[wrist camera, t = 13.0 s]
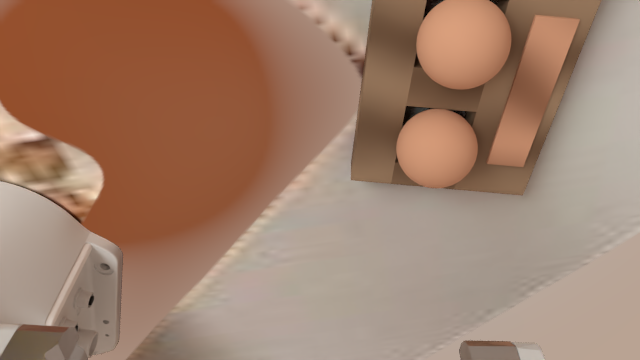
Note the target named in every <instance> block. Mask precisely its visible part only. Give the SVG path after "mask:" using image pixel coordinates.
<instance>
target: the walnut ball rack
mask: <svg viewBox="0 0 640 360" xmlns="http://www.w3.org/2000/svg"><path fill="white" fill-rule="evenodd" d="M426 1H427V0H372V7H371V14H370V22H369V30H368V38H367V45H366V53H365V61H364V68H363V76H362V84H361V91H360V99H359V107H358V114H357V122H356V130H355V137H354V145H353V153H352V160H351V180H356V181H367V182H379V183H390V184H401V185H412V186H422V185H419V184H417V183H416V182H414V181H413V180H411V179H410V178H409V177H408V176H407V175H406V174H405V173H404V171H403V170H402V168H401V166H400V164H399V162H398V158H397V153H396V145H397V140H398V136H399V134H400V131H401V130H402V124H403V119H404V114H405V109H406V106H414V107H426V108H437V109H449V110H460V111H467V113H466V116H465V120H466V121H467V122H468V123H469V124H470V125H471V127H472V128H473V130H474V133H475V135H476V138H477V144H478V152H477V157H476V161H475V163H474V166H473V167H472V169H471V171H470V172H469V173H468V174H467V175H466V176H465V177H464V178H463V179H462V180H461V181H459V182H458V183H456V184H454V185H451V186H448V187H444V188H446V189H458V190H469V191H480V192H492V193H503V194H514V195H523V193H524V191H525V189H526V186H527V184H528V181H529V179H530V176H531V174H532V171H533V169H534V166H535V164H536V161H537V159H538V156H539V154H540V151H541V149H542V146H543V144H544V141H545V139H546V136H547V134H548V131H549V129H550V126H551V124H552V121H553V119H554V116H555V114H556V112H557V109H558V107H559V104H560V102H561V99H562V97H563V94H564V92H565V89H566V87H567V84H568V82H569V79H570V77H571V74H572V72H573V69H574V67H575V64H576V62H577V59H578V57H579V54H580V52H581V49H582V47H583V44H584V42H585V39H586V37H587V35H588V32H589V30H590V27H591V25H592V22H593V20H594V17H595V15H596V12H597V10H598V7H599V5H600V2H601V0H498V2H497V5H496V6H497V7H498V8H499V9H500V10H501V11H502V12H503V13H504V15H505V17H506V18H507V21H508V23H509V26H510V30H511V48H510V52H509V55H508V58H507V60H506V62H505V64H504V65H503V67H502V68H501V70H500V71H499V72H498V73H497V74H496V75H495V76H494V77H493V78H492V79H490V80H489V81H488V82H486V83H484V84H482V85H480V86H478V87H475V88H471V89H463V90H460V89H451V88H447V87H444V86H442V85H440V84H438V83H436V82H435V81H433V80H432V79H431V78H430V77H429V76H428V75H427V74H426V73H425V71H424V70H423V68H422V66H421V64H420V62H419V59H418V56H417V54H416V53H417V49H416V42H417V35H418V31H419V28H420V26H421V24H422V22H423V17H424V12H425V6H426ZM424 187H425V186H424Z"/></svg>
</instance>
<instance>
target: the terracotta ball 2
mask: <svg viewBox="0 0 640 360" xmlns="http://www.w3.org/2000/svg"><path fill="white" fill-rule="evenodd" d="M477 152H478V144H477V138H476V135H475V133H474V130H473V128H472V127H471V125H470V124H469V123H468V122H467V121H466V120H465V119H464V118H463V117H462V116H460V115H459V114H457V113H455V112H453V111H450V110H446V109H429V110H425V111H422V112H420V113H418V114H416V115H415V116H413V117H412V118H411V119H410V120H408V121H407V122H406V124H405V125H404V126H403V128H402V130H401V131H400V134H399V136H398V140H397V145H396V153H397V158H398V162H399V164H400V166H401V168H402V170H403V171H404V173H405V174H406V175H407V176H408V177H409V178H410V179H411V180H413V181H414V182H416V183H417V184H419V185H422V186H425V187H429V188H444V187H448V186H451V185H454V184H456V183H458V182H459V181H461V180H462V179H463V178H464V177H465V176H466V175H467V174H468V173H469V172H470V171H471V169H472V167H473V166H474V163H475V161H476V157H477Z"/></svg>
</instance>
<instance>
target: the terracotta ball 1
mask: <svg viewBox="0 0 640 360" xmlns="http://www.w3.org/2000/svg"><path fill="white" fill-rule="evenodd" d="M510 48H511V30H510V26H509V23H508V21H507V18H506V17H505V15H504V13H503V12H502V11H501V10H500V9H499V8H498V7H497V6H496V5H495V4H494V3H492V2H491V1H489V0H444V1H442V2H441V3H439V4H438V5H436V6H435V7H434V8H433V9H432V10H431V11H430V12H429V13H428V14H427V16H426V17H425V18H424V20H423V22H422V24H421V26H420V28H419V31H418V35H417V42H416V49H417V56H418V59H419V62H420V64H421V66H422V68H423V70H424V71H425V73H426V74H427V75H428V76H429V77H430V78H431V79H432V80H433V81H435V82H436V83H438V84H440V85H442V86H444V87H447V88H451V89H460V90H463V89H471V88H475V87H478V86H480V85H482V84H484V83H486V82H488V81H489V80H490V79H492V78H493V77H494V76H495V75H496V74H497V73H498V72H499V71H500V70H501V68H502V67H503V65H504V64H505V62H506V60H507V58H508V55H509V52H510Z"/></svg>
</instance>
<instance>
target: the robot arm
mask: <svg viewBox="0 0 640 360" xmlns="http://www.w3.org/2000/svg"><path fill="white" fill-rule="evenodd" d="M122 265H123V253H122V251H121V249H120V248H119V247H118V246H116V245H115V244H114V243H112V242H110V241H109V240H107V239H105V238H103V237H101V236H99V235H97V234H94V233H92V232H90V231H89V230H88V229H86V228H85V227H84V226H83V225H81V224H80V223H79V222H78V221H77V220H76V219H75V218H73V217H72V216H71V215H70V214H69V213H68V212H66V211H65V210H64V209H62V208H61V207H60V206H58V205H56V204H55V203H53V202H52V201H50V200H48V199H47V198H45V197H43V196H41V195H39V194H37V193H35V192H32V191H30V190H28V189H25V188H22V187H20V186H17V185H13V184H10V183H6V182H1V181H0V360H88V358H89V357H91V356H92V355H96V354H102V353H105V352H109V351H112V350H114V349H115V347H116V345H117V344H118V342H119V334H120V312H121V289H122ZM459 353H460V358H461V360H545V358H544V355H543V352H542V350H541V348H540V347H539V345H538V344H536V343H511V342H507V341H506V342H505V341H463V342H462V343H461V346H460V349H459Z"/></svg>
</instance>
